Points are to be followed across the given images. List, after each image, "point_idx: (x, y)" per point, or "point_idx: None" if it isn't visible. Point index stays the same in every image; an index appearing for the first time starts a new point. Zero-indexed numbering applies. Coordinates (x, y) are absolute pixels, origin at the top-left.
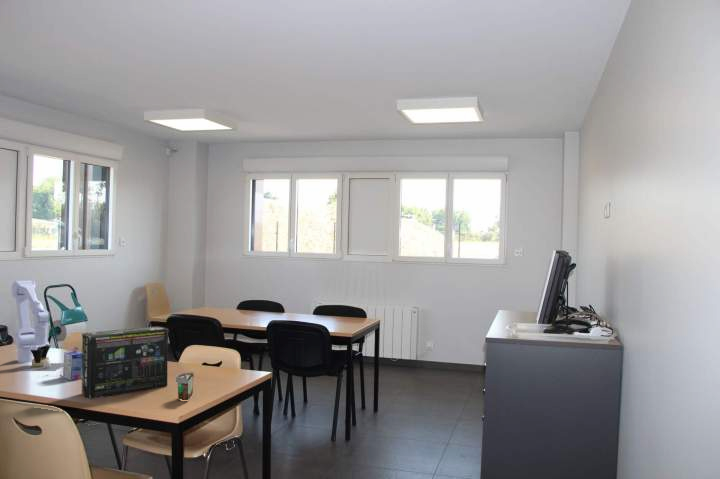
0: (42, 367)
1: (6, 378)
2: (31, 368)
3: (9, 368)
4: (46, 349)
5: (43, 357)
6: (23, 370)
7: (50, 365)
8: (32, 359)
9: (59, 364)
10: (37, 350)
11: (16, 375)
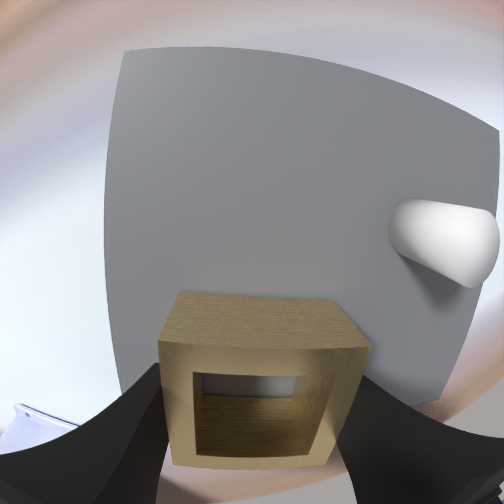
0: (363, 299)
1: (498, 381)
2: (380, 378)
3: (244, 492)
4: (116, 499)
5: (173, 408)
6: (432, 392)
7: (252, 242)
8: (315, 464)
9: (190, 138)
10: (491, 490)
11: (467, 378)
